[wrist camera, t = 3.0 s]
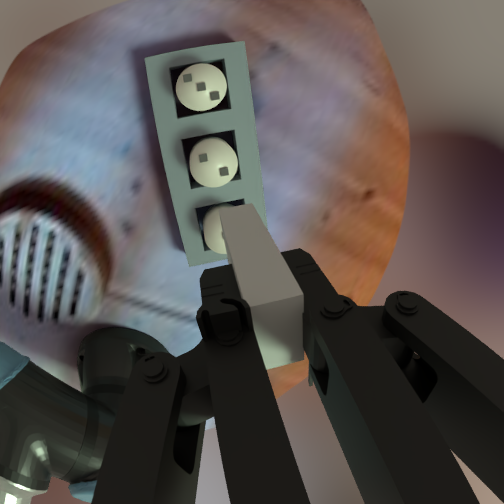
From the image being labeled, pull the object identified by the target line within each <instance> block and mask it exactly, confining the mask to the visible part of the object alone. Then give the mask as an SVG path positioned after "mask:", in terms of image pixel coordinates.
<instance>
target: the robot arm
mask: <svg viewBox="0 0 504 504" xmlns="http://www.w3.org/2000/svg"><path fill="white" fill-rule="evenodd" d="M219 216H220V221H221V226H222V232H223V237H224V242H225V248H226V253H227V258H228V263H229V265H224V266H219V267H215V268H210V269H205V270H204V272H203V274H202V275H201V277H200V288H201V297H202V306H201V307H200V308H199V310H198V311H197V315H196V320H197V323H198V326H199V329H200V332H201V335H202V338H203V339H202V340H201V342H200V343H199V344H198V345H197V346H196V347H195V348H194V349H192V350H190V351H188V352H187V353H184V354H182V355H180V356H178V357H175V356H173V355H172V354H170V353H169V352H168V351H167V349H166V348H165V347H164V346H163V345H162V344H161V343H159V342H158V341H157V340H155V339H153V338H152V337H150V336H148V335H146V334H143V333H141V332H138V331H135V330H131V329H125V328H104V329H100V330H97V331H94V332H92V333H90V334H89V335H87V336H86V337H85V338H84V339H83V341H82V343H81V345H80V348H79V352H78V356H77V366H78V373H79V380H80V386H81V392H80V391H78V390H76V389H74V388H73V387H71V386H69V385H68V384H66V383H64V382H62V381H61V380H59V379H58V378H56V377H54V376H53V375H51V374H50V373H48V372H46V371H45V370H43V369H42V368H40V367H39V366H37V365H36V364H34V363H33V362H31V361H30V358H29V357H27V356H23V355H21V354H20V353H18V352H17V351H15V350H14V349H12V348H11V347H9V346H8V345H7V344H5V343H3V342H1V341H0V504H30V502H31V498H32V497H33V496H34V495H37V494H42V493H45V492H47V490H48V487H49V483H50V479H51V477H52V476H53V477H56V478H59V479H61V480H64V481H67V482H69V483H70V485H69V487H68V488H69V490H70V493H71V495H72V496H73V497H75V498H78V499H80V500H82V501H86V502H90V503H91V504H195V499H196V491H197V484H198V476H199V468H200V461H201V453H202V446H203V438H204V431H205V424H206V420H208V419H210V418H212V417H214V418H215V424H216V430H217V436H218V442H219V447H220V453H221V458H222V464H223V469H224V474H225V479H226V484H227V489H228V494H229V498H230V503H231V504H310V501H309V498H308V495H307V492H306V489H305V487H304V484H303V481H302V478H301V475H300V472H299V469H298V466H297V463H296V460H295V457H294V454H293V451H292V448H291V446H290V442H289V439H288V436H287V433H286V430H285V427H284V424H283V420H282V418H281V415H280V411H279V409H278V405H277V402H276V399H275V396H274V392H273V389H272V386H271V383H270V380H269V377H268V374H267V369H271V368H275V367H279V366H282V365H286V364H290V363H294V362H297V361H301V360H304V350H305V353H306V355H307V357H308V359H309V377H308V378H309V379H308V381H309V386H312V385H313V382H314V384H315V386H316V389H317V391H318V394H319V396H320V398H321V401H322V403H323V405H324V408H325V410H326V412H327V415H328V417H329V420H330V422H331V424H332V427H333V429H334V431H335V434H336V436H337V438H338V441H339V443H340V446H341V448H342V450H343V453H344V455H345V457H346V460H347V462H348V465H349V467H350V469H351V472H352V474H353V477H354V479H355V481H356V484H357V486H358V489H359V491H360V493H361V496H362V498H363V500H364V502H365V504H480V503H479V501H478V500H477V497H476V495H475V494H474V492H473V490H472V488H471V486H470V484H469V482H468V480H467V478H466V477H465V475H464V473H463V471H462V469H461V468H460V466H459V464H458V462H457V461H456V459H455V457H454V455H453V453H452V452H451V450H452V451H453V452H454V453H455V454H456V455H457V456H458V457H459V458H460V459H461V460H462V461H463V462H464V463H465V464H466V465H467V466H468V468H469V469H471V471H472V472H474V474H475V475H476V476H477V477H478V478H479V479H480V480H481V481H482V482H483V483H484V484H485V485H486V486H487V487H488V488H489V489H490V490H492V492H493V493H494V494H495V495H496V496H497V497H498V498H499V499H500V500H501V501H502V502H503V503H504V359H502V358H501V357H500V356H499V355H497V354H496V353H495V352H494V351H493V350H491V349H490V348H489V347H488V346H486V345H485V344H484V343H482V342H481V341H480V340H479V339H477V338H476V337H475V336H474V335H472V334H471V333H470V332H469V331H467V330H466V329H465V328H463V327H462V326H461V325H459V324H458V323H457V322H455V321H454V320H453V319H451V318H450V317H449V316H447V315H446V314H445V313H443V312H442V311H441V310H439V309H438V308H437V307H435V306H434V305H432V304H431V303H430V302H428V301H427V300H426V299H424V298H423V297H421V296H420V295H418V294H416V293H413V292H409V291H397V292H395V293H392V294H390V295H389V296H388V297H387V298H386V302H385V305H384V306H357V305H356V303H355V302H354V301H352V300H351V299H350V298H348V297H346V296H343V295H338V293H337V292H336V290H335V289H334V287H333V286H332V285H331V283H330V282H329V280H328V279H327V277H326V276H325V275H324V273H323V272H322V271H321V269H320V267H319V266H318V265H317V264H316V262H315V260H314V259H313V258H312V256H311V255H310V254H309V253H307V252H305V251H304V250H302V249H300V248H299V249H294V250H290V251H285V252H280V251H279V249H278V248H277V246H276V244H275V242H274V240H273V239H272V237H271V235H270V233H269V232H268V230H267V228H266V226H265V225H264V223H263V221H262V219H261V218H260V216H259V214H258V213H257V211H256V209H255V207H254V206H253V204H252V203H250V204H245V205H240V206H234V207H229V208H224V209H219ZM414 352H415V353H417V354H418V355H417V354H415V353H414ZM450 449H451V450H450Z"/></svg>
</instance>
